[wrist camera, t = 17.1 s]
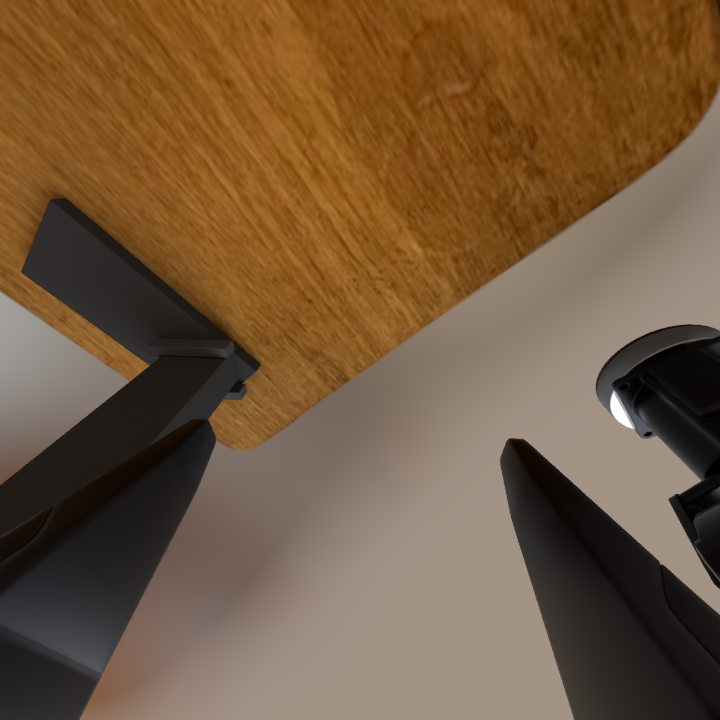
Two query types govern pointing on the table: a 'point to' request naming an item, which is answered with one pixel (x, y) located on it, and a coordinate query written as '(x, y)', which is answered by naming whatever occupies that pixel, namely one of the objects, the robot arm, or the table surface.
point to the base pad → (122, 294)
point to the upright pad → (118, 431)
